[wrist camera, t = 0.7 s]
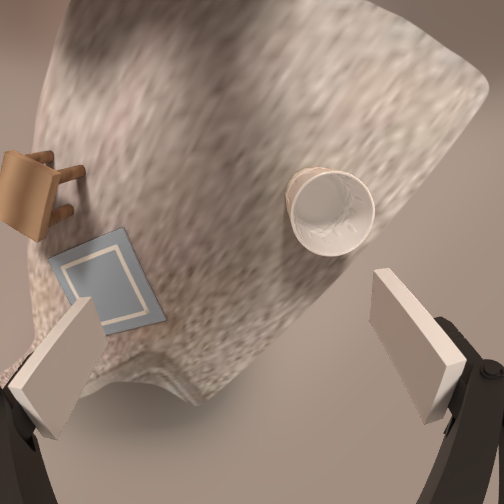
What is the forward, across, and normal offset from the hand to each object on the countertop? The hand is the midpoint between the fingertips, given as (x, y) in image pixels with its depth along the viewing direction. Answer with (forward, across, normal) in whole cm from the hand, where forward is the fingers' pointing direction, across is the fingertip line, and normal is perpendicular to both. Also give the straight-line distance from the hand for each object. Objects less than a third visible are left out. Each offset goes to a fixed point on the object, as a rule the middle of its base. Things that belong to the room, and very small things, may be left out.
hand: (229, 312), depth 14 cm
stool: (+25, -24, +6) cm, 35 cm away
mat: (+25, -21, -10) cm, 34 cm away
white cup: (+25, +8, 0) cm, 26 cm away
